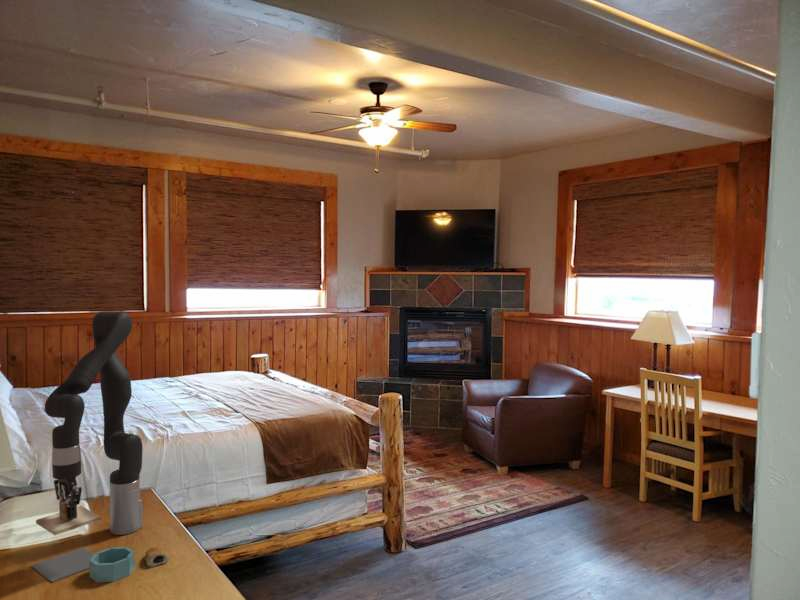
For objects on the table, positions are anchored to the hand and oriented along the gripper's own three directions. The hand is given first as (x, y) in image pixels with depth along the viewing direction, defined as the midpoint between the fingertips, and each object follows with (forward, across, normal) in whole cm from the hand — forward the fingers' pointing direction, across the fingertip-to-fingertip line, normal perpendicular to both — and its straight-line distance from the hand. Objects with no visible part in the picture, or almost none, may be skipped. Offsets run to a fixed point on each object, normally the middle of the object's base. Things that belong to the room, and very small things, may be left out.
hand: (68, 516), depth 177 cm
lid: (+2, 0, 0) cm, 2 cm away
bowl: (+15, -15, -6) cm, 22 cm away
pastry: (+15, -18, -17) cm, 29 cm away
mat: (+15, 0, 0) cm, 15 cm away
